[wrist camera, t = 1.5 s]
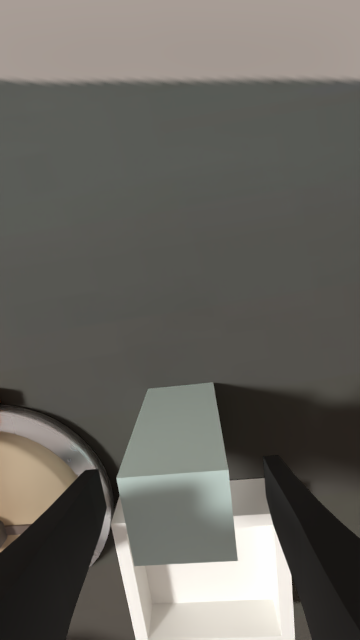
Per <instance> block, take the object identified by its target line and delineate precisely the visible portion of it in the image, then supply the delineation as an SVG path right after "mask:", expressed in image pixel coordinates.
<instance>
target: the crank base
mask: <svg viewBox="0 0 360 640" xmlns="http://www.w3.org/2000/svg"><path fill="white" fill-rule="evenodd" d="M0 403H1V400H0ZM0 431H3V432H7V433H12V434H16V435H19V436H22V437H25V438H28V439H30V440H32V441H34V442H37V443H39V444H40V445H42V446H44V447H45V448H47V449H49V450H50V451H52V452H53V453H54V454H56V455H57V456H58V457H60V458H61V459H62V460H63V461H64V462H65V463H66V464H67V465H68V466H69V467H70V468H71V469H72V470H73V472H74V473H75V474H76V475H77V476H78V477H79V476H80V475H81V474H82V473H83V472H84V471H85V470H90V469H99V474H100V478H101V483H102V487H103V492H104V497H105V501H106V506H107V509H106V513H105V518H104V522H103V526H102V530H101V534H100V537H99V540H98V543H97V546H96V549H95V552H94V555H93V558H92V560H91V563H90V566H89V568H90V567H91V566H92V565H93V563H94V562H95V561H96V559H97V558H98V557H99V555H100V553H101V552H102V550H103V548H104V545H105V543H106V540H107V537H108V534H109V530H110V527H111V521H112V518H113V514H114V497H113V490H112V486H111V483H110V479H109V477H108V474H107V472H106V470H105V468H104V466H103V464H102V463H101V461H100V459H99V458H98V456H97V455H96V453H95V452H94V451H93V450H92V448H91V447H90V446H89V445H88V444H87V443H86V442H85V441H84V440H83V439H82V438H81V437H80V436H79V435H78V434H76V433H75V432H74V431H72V430H71V429H70V428H69V427H67V426H65V425H64V424H62V423H61V422H59V421H57V420H56V419H53V418H51V417H49V416H47V415H45V414H43V413H40V412H37V411H34V410H31V409H27V408H22V407H18V406H11V405H0Z"/></svg>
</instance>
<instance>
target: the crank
mask: <svg viewBox="0 0 360 640" xmlns="http://www.w3.org/2000/svg"><path fill="white" fill-rule="evenodd" d="M77 478H78V476H77V475H76V474H75V473H74V472H73V470H72V469H71V468H70V467H69V466H68V465H67V464H66V463H65V462H64V461H63V460H62V459H61V458H60V457H58V456H57V455H56V454H54V453H53V452H52V451H50V450H49V449H47V448H45V447H44V446H42V445H40V444H39V443H37V442H34V441H32V440H30V439H28V438H25V437H22V436H19V435H16V434H12V433H7V432H3V431H0V552H1V551H3V550H4V549H5V548H6V547H7V546H8V545H10V544H11V543H12V542H13V541H14V540H15V539H16V538H18V537H19V536H20V535H21V534H22V533H23V532H24V531H25V530H26V529H27V528H28V527H29V526H30V525H31V524H32V523H33V522H34V521H36V520H37V519H38V518H39V517H40V516H41V515H42V514H43V513H44V512H45V511H46V510H47V509H48V508H49V507H50V506H51V505H52V504H53V503H54V502H55V501H56V500H57V499H58V498H59V497H60V496H61V494H62V493H63V492H64V491H65V490H66V489H67V488H68V487H69V486H70V485H71V484H72V483H73V482H74V481H75V480H76V479H77Z"/></svg>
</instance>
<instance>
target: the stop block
mask: <svg viewBox="0 0 360 640" xmlns="http://www.w3.org/2000/svg"><path fill="white" fill-rule="evenodd" d="M116 479H117V484H118V489H119V494H120V499H121V503H122V508H123V513H124V518H125V523H126V528H127V533H128V538H129V543H130V548H131V553H132V558H133V562H134V566H148V565H167V564H187V563H207V562H227V561H238V557H237V548H236V538H235V529H234V519H233V510H232V500H231V490H230V481H229V471H228V465H227V459H226V454H225V448H224V442H223V436H222V431H221V425H220V419H219V413H218V408H217V402H216V396H215V390H214V385H213V383H203V384H192V385H182V386H172V387H162V388H152V389H148V390H147V393H146V396H145V399H144V402H143V405H142V407H141V410H140V413H139V416H138V419H137V421H136V424H135V427H134V430H133V433H132V436H131V438H130V441H129V444H128V447H127V450H126V452H125V455H124V458H123V461H122V464H121V467H120V469H119V472H118V475H117V478H116Z"/></svg>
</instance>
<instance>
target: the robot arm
mask: <svg viewBox="0 0 360 640" xmlns="http://www.w3.org/2000/svg"><path fill="white" fill-rule="evenodd" d="M263 464H264V478H265V491H266V499H267V503H268V507H269V511H270V515H271V519H272V522H273V526H274V528H275V531H276V534H277V537H278V540H279V542H280V545H281V548H282V551H283V553H284V556H285V559H286V562H287V564H288V567H289V570H290V573H291V575H292V578H293V581H294V583H295V586H296V589H297V592H298V595H299V598H300V601H301V604H302V607H303V610H304V613H305V616H306V620H307V623H308V627H309V630H310V634H311V637H312V640H360V538H359V537H357V536H356V535H355V534H354V533H353V532H352V531H350V530H349V529H348V528H347V527H346V526H345V525H344V524H342V523H341V522H340V521H339V520H338V519H337V518H336V517H335V516H334V515H333V514H332V513H331V512H330V511H329V510H328V509H327V508H325V507H324V506H323V505H322V504H321V503H320V502H319V501H318V500H317V499H316V497H315V496H314V495H313V494H312V493H311V492H310V491H309V490H308V489H307V488H306V487H305V486H304V485H303V484H302V483H301V481H300V480H299V479H298V478H297V477H296V476H295V475H294V474H293V472H292V471H291V470H290V469H289V468H288V466H287V465H286V464H285V463H284V462H283V460H282V459H281V458H280V457H279V456H278V455H275V456H263ZM106 509H107V506H106V501H105V497H104V492H103V487H102V483H101V478H100V474H99V469H90V470H85V471H84V472H83V473H82V474H81V475H80V476H79V477H78V478H77V479H76V480H75V481H74V482H73V483H72V484H71V485H70V486H69V487H68V488H67V489H66V490H65V491H64V492H63V493H62V494H61V496H60V497H59V498H58V499H57V500H56V501H55V502H54V503H53V504H52V505H51V506H50V507H49V508H48V509H47V510H46V511H45V512H44V513H43V514H42V515H41V516H40V517H39V518H38V519H37V520H36V521H34V522H33V523H32V524H31V525H30V526H29V527H28V528H27V529H26V530H25V531H24V532H23V533H22V534H21V535H20V536H19V537H18V538H16V539H15V540H14V541H13V542H12V543H11V544H10V545H8V546H7V547H6V548H5V549H4V550H3V551H1V552H0V640H66V636H67V633H68V629H69V625H70V622H71V618H72V615H73V612H74V609H75V606H76V603H77V600H78V597H79V594H80V591H81V588H82V586H83V583H84V580H85V577H86V574H87V572H88V569H89V566H90V563H91V560H92V558H93V555H94V552H95V549H96V546H97V543H98V540H99V537H100V534H101V530H102V526H103V522H104V518H105V513H106Z"/></svg>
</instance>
